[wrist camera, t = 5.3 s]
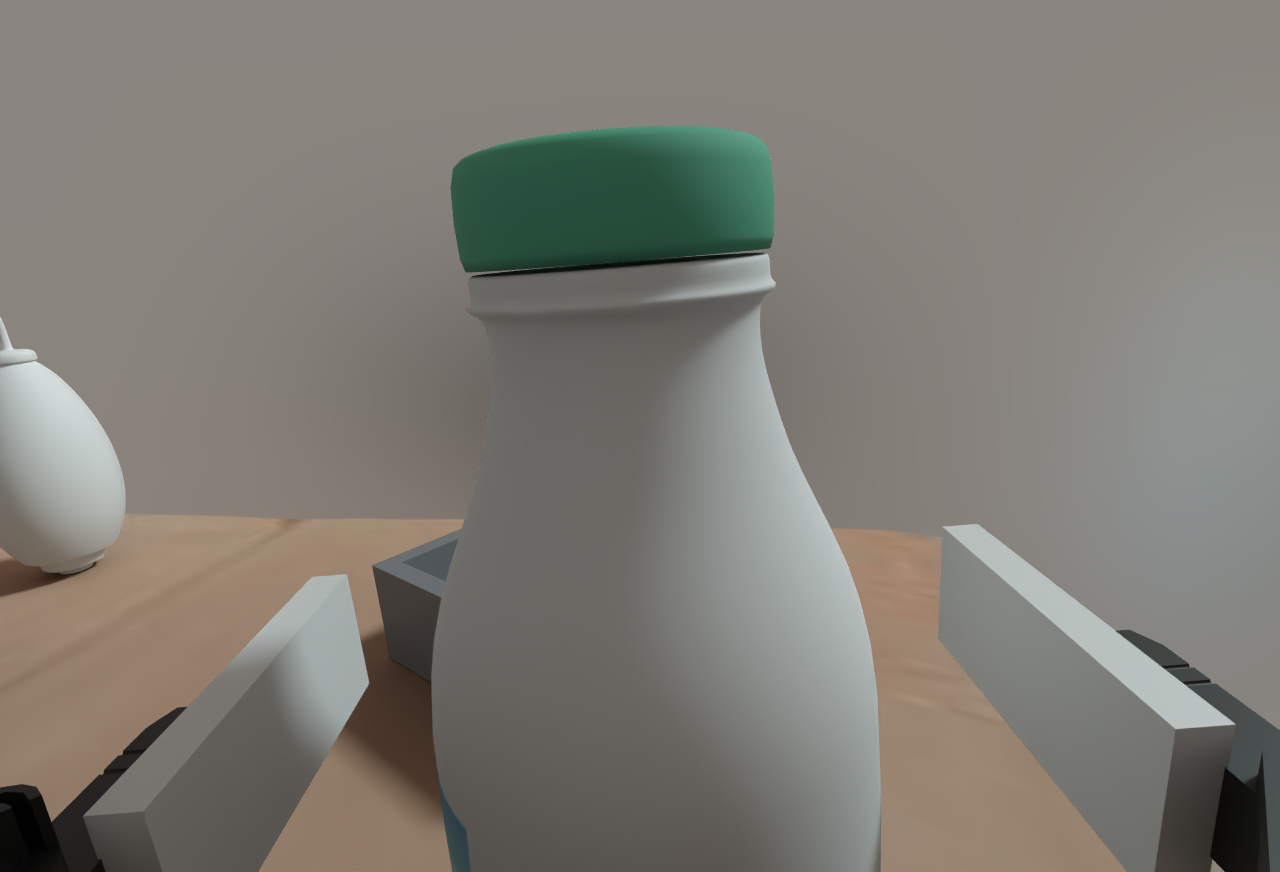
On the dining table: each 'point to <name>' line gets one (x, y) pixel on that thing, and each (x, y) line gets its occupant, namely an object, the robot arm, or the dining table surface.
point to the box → (414, 600)
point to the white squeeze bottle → (53, 470)
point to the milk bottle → (642, 536)
